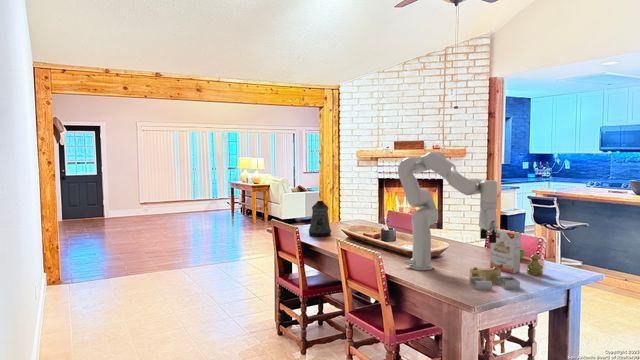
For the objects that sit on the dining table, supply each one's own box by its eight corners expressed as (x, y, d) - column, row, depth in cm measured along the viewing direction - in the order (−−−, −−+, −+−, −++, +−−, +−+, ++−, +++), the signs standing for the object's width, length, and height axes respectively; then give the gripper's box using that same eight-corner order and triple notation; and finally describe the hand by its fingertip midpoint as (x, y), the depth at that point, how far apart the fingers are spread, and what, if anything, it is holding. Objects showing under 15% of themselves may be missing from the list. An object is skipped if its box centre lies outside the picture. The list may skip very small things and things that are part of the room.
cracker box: (489, 268, 245) (490, 229, 244) (496, 266, 249) (497, 228, 247) (513, 274, 234) (514, 233, 232) (520, 272, 237) (521, 232, 235)
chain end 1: (476, 290, 208) (476, 282, 208) (469, 284, 217) (469, 276, 217) (491, 289, 209) (492, 282, 208) (483, 283, 218) (483, 276, 217)
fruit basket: (516, 256, 271) (516, 237, 270) (527, 259, 262) (527, 240, 262) (500, 258, 267) (500, 238, 266) (510, 261, 259) (511, 241, 258)
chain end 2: (504, 289, 209) (504, 281, 209) (496, 283, 218) (496, 276, 218) (519, 289, 209) (519, 281, 209) (510, 283, 218) (510, 275, 218)
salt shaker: (543, 276, 229) (544, 256, 228) (527, 275, 232) (527, 255, 231) (542, 272, 236) (542, 253, 235) (526, 271, 239) (526, 252, 238)
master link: (472, 282, 220) (472, 268, 220) (469, 280, 223) (470, 266, 223) (500, 281, 221) (500, 267, 221) (497, 280, 224) (498, 266, 224)
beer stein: (310, 237, 328) (310, 203, 326) (306, 232, 347) (306, 199, 345) (333, 236, 331) (333, 202, 329) (327, 231, 350) (327, 199, 348)
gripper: (473, 203, 230) (473, 237, 231) (488, 208, 213) (488, 244, 214) (488, 203, 230) (487, 237, 231) (504, 207, 213) (503, 244, 214)
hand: (487, 240), depth 223 cm, fingers open, 9 cm apart
